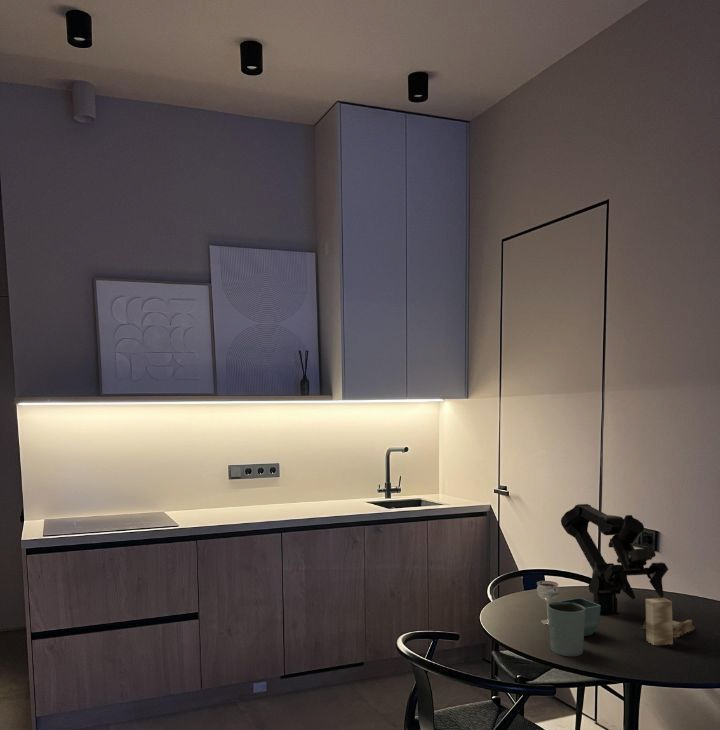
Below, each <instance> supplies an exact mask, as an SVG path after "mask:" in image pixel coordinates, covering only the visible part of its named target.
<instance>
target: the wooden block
mask: <svg viewBox="0 0 720 730" xmlns="http://www.w3.org/2000/svg"><path fill="white" fill-rule="evenodd" d="M672 620H673V601H672V600H670V599H668V598H666V597H662V598H661V597H658V598H657V597H655V598H645V621H646V630H645V631H646V634H645V636H646V642H647V641H648V642H647V643H649V644H650V643H651V644H650V645H652V646H654V645H655V646H665V645H668V644H669V645H674V641H673V640H674V638H673V626H672Z"/></svg>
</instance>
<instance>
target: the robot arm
mask: <svg viewBox="0 0 720 730" xmlns="http://www.w3.org/2000/svg"><path fill="white" fill-rule="evenodd" d="M589 523H591V524H594V525H595V526H597V528H598V531H599V532H600V533H601V534H602V535H604V536H612V538H609V543H608V548H613V550H614V552H615V554H616V556H617V559H616V562H617V564H614V563H613V562H611V563H607V562H606V561H605V559H604V557H603V555H602V554H601V552H600V550H599V549H598V547H597V544H596V543H595V541H594V540H593V537H592V536H591V535H590V533H589V531H588V528H589ZM560 524H561V526H562V528H563V529H564V531H565V532H566V533H567V534H568V535H569V536H571V537H573V539H574V538H575V540H576V542H577V545H578V546H579V548H580V550H581V551H582V553H583V556H584V557H585V559H586V561H587V562H588V564H589V566H590V567H591V569H592V573H591V581H589V584H588V585H587V586H588V589H589V593H592V594H593V603H596V604H598V605H600V606H601V608H600V616H606V615H607V616H608V615H610V616H611V615H619V614H620V612H619V611H618V610H619V608H618V597H617V595H621V592H623V593H625V595H627V596H628V597H630V599H632V600H635V599H636V596H635V592H634V590H633V588H632V586H631V584H630V582H629V579H628V576H642V575H643V576H644V575H646V577H647V578H648V579H649V581H648V582H649V583H650V585H651V587H652V588H653V589H654V590H655V592H656V593H657V595H658V596H659V598H664V587H663V578H664V576H665V575H666V573H667V572H668V571H669V568H668V566H667V564H666V563H665V562H652V563H651V564H650V565H649V566H648V567H644V566H646V565H647V562H648V561H651V560H653V558H655V557H656V555H657V554H656V551H655V549H654V548H653V546H652V545H651V546H646V547H643V548H635V547H634V545H633V544H634V543H636V542H637V540H638V539H639V538H640V536H641V535H642V533H643V532H644V530H645V527H644V524H643V522H641V521H640V520H639V519H637V518H635V517H633V515H632V514H627V515H625V516H624V518H623V517H622V516H618V515H612V514H611V515H610V514H606V513H605V512H602V511H600V510H598V509H597V508H595V507H593V506H591V504H588V503H578V504H576V505H575V506H574V507H573V508H571V509H570V510H567V511H566V512H565V513H564V514H563V515H562V517H561V520H560Z"/></svg>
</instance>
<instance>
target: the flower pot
mask: <svg viewBox="0 0 720 730" xmlns="http://www.w3.org/2000/svg"><path fill="white" fill-rule="evenodd" d="M558 602H570V603H576V604H579V605H582V606H584V607H585V620H584V637H586V636H592V635H593V634H594V633H595V632H596V630H597V628H598V625H599V622H600V617H601V615H600V608H601V606H600V605H598V604H596V603H594V601H593V602H592V601H590V600H588V599H585V598H582V597H575V598H570V599H565V600H559V601H558Z"/></svg>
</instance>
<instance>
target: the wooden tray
mask: <svg viewBox="0 0 720 730" xmlns="http://www.w3.org/2000/svg"><path fill="white" fill-rule="evenodd" d="M672 626H673V637H674V638H673V639H677V638H679V637H681V636H683V635H686V634H687V632H688V633H690V632H692V631H694V630H695V629H696V628H695V625H693V620H692V619H687V620H684V621H682V622H681V621H680V622H679V621H676V620H673V619H672ZM644 629H646V620H644V624H643V626H642V630H644ZM689 631H690V632H689ZM685 633H686V634H685ZM680 635H681V636H680ZM676 637H677V638H676Z"/></svg>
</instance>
